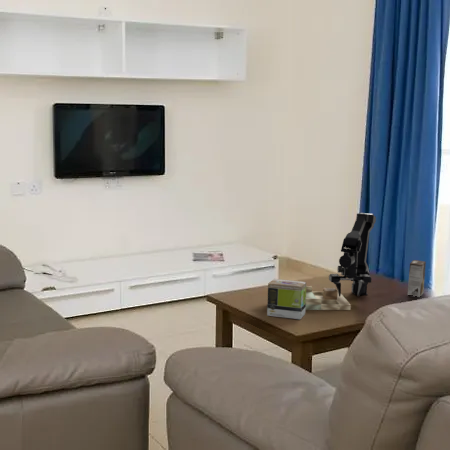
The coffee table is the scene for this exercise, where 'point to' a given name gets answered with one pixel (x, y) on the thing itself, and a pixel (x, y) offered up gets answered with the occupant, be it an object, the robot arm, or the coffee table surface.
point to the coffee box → (416, 278)
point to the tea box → (286, 298)
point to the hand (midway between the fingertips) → (348, 296)
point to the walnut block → (330, 293)
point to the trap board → (324, 301)
